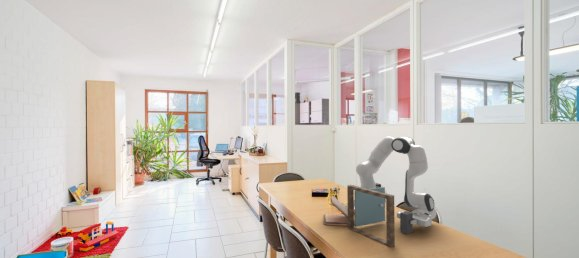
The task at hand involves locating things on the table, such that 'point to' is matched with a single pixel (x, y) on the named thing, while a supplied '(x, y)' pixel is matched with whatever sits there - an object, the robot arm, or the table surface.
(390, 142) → the robot arm
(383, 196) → the door frame
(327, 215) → the case
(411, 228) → the dark blue-gray block
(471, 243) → the table surface
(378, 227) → the table surface
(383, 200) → the door
